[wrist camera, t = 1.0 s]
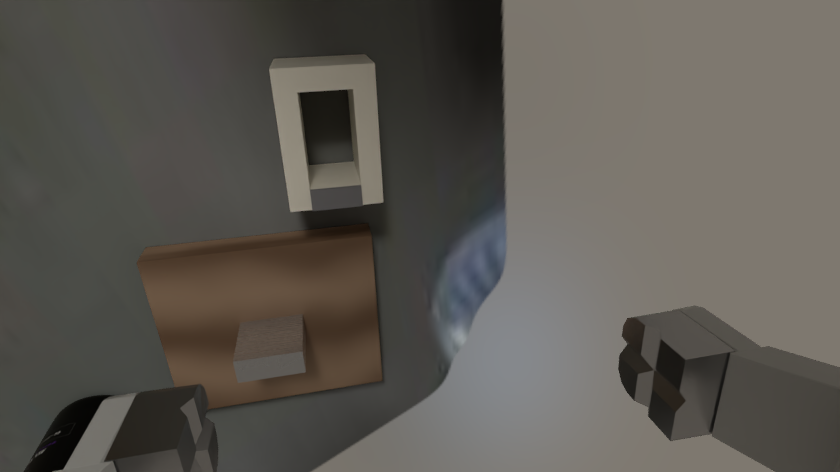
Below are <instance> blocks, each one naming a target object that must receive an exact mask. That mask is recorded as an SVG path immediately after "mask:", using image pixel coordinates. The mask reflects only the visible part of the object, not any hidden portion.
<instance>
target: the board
mask: <svg viewBox="0 0 840 472" xmlns="http://www.w3.org/2000/svg"><path fill="white" fill-rule="evenodd" d="M137 265H138V268H139V272H140V275H141V278H142V281H143V285H144V288H145V291H146V294H147V298H148V301H149V304H150V307H151V310H152V314H153V317H154V320H155V323H156V327H157V330H158V333H159V336H160V340H161V343H162V346H163V349H164V352H165V356H166V359H167V362H168V365H169V369H170V372H171V375H172V378H173V382H174V385H175V387H181V386H188V385H196V384H201V385H202V386H203V387H204V388H205V390H206V394H207V397H208V401H209V405H208V409H213V408H219V407H225V406H231V405H237V404H244V403H250V402H256V401H262V400H268V399H274V398H280V397H286V396H292V395H298V394H304V393H311V392H317V391H323V390H329V389H335V388H341V387H347V386H353V385H359V384H365V383H371V382H378V381H383V380H382V367H381V354H380V341H379V327H378V314H377V301H376V288H375V274H374V261H373V248H372V236H371V232H370V229H369V225H368V223H366V224H357V225H348V226H339V227H330V228H320V229H311V230H302V231H293V232H284V233H274V234H265V235H256V236H247V237H238V238H228V239H219V240H210V241H201V242H192V243H183V244H173V245H164V246H155V247H146V248H145V250H144V251H143V253H142V255H141V256H140V258H139V259H138V261H137ZM300 314H303V321H304V327H305V334H306V372H305V373H299V374H292V375H286V376H279V377H273V378H267V379H260V380H254V381H248V382H241V383H238V381H237V377H236V373H235V369H234V365H233V359H234V353H235V348H236V343H237V337H238V332H239V327H240V323H242V322H249V321H256V320H263V319H271V318H278V317H285V316H293V315H300Z"/></svg>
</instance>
